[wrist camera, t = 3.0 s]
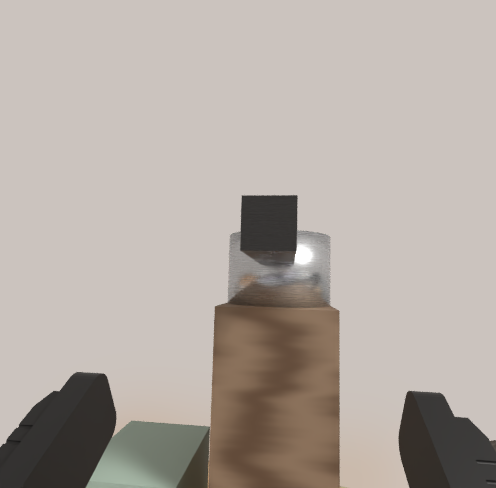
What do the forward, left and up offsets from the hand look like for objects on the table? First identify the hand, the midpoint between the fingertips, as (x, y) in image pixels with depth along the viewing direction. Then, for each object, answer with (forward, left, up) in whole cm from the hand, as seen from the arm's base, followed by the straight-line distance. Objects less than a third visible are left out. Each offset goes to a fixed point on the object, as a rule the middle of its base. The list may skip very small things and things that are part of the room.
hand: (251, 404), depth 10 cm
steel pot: (0, -16, +1) cm, 16 cm away
